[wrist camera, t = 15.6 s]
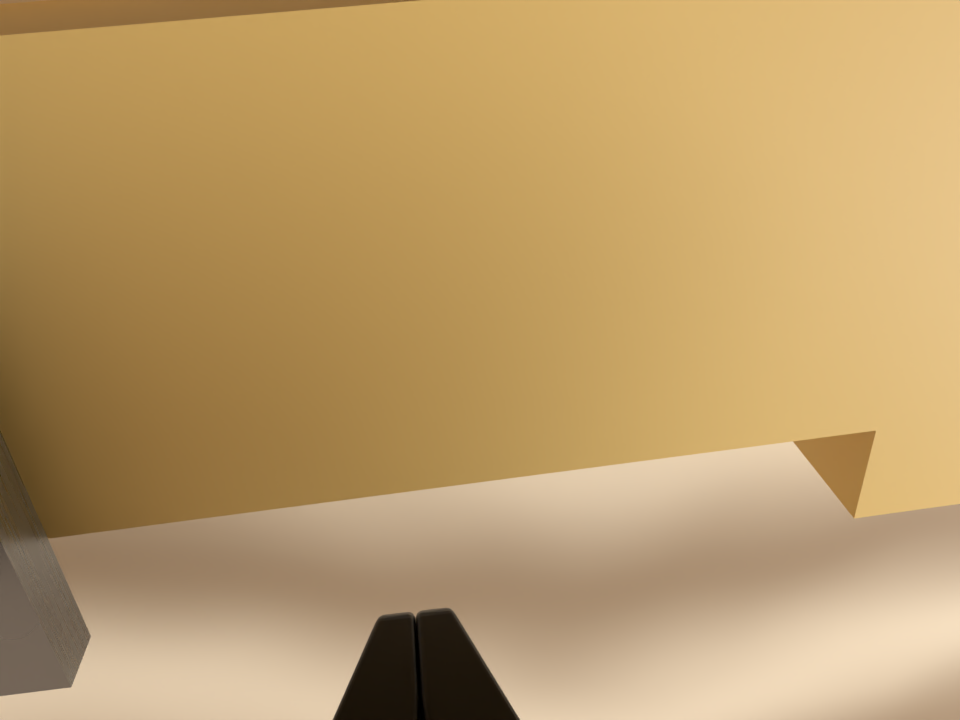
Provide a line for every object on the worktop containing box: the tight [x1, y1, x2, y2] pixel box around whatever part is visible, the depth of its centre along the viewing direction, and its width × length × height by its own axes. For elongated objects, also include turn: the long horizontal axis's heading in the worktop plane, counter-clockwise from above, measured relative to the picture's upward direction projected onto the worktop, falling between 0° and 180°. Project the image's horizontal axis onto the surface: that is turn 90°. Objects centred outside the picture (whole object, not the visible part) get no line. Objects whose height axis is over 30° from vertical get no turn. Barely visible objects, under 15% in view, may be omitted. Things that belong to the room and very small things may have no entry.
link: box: [0, 0, 960, 539], centre depth 8 cm, size 19×7×3 cm, turn 94°
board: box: [0, 0, 960, 720], centre depth 13 cm, size 21×25×1 cm
